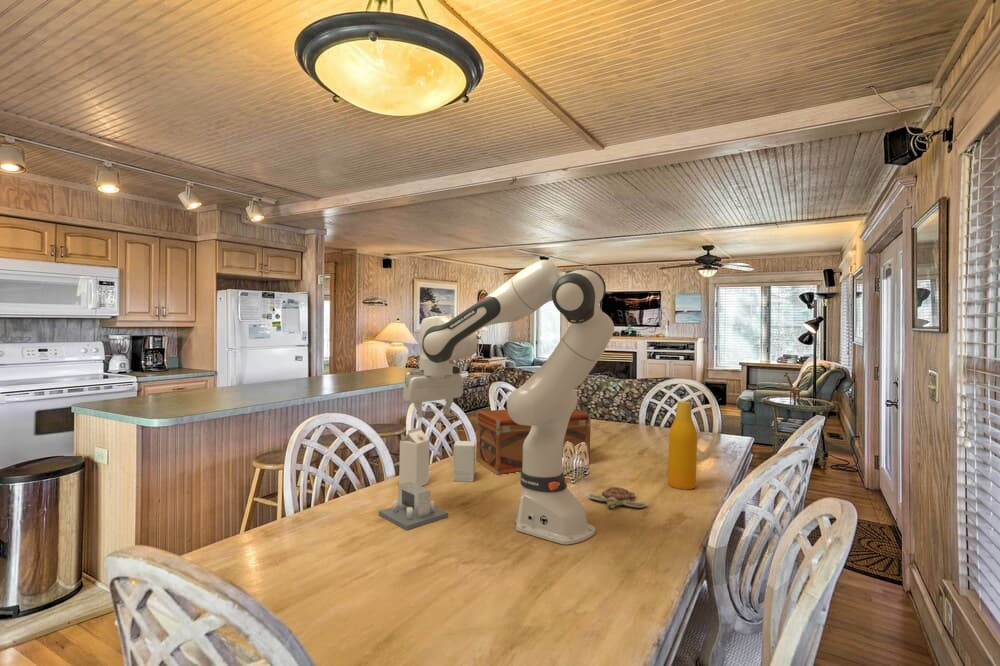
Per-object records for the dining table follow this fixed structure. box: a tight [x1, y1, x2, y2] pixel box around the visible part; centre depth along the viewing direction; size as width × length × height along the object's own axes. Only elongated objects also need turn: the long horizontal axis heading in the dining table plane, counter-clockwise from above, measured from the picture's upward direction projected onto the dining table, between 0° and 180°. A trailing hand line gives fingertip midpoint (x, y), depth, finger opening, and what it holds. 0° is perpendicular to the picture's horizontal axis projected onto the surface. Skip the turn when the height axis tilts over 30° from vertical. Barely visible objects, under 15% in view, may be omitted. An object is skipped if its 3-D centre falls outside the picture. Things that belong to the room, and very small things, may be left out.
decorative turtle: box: [587, 486, 647, 509], centre depth 160 cm, size 18×17×5 cm
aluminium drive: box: [397, 482, 431, 519], centre depth 146 cm, size 10×4×7 cm, turn 44°
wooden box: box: [475, 409, 592, 476], centre depth 202 cm, size 20×41×20 cm, turn 114°
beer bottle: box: [667, 400, 698, 490], centre depth 177 cm, size 9×9×29 cm
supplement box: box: [452, 440, 476, 483], centre depth 181 cm, size 7×7×13 cm
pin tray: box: [378, 499, 449, 531], centre depth 146 cm, size 14×14×4 cm
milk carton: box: [398, 426, 430, 487], centre depth 173 cm, size 7×7×19 cm
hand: (434, 415), depth 154 cm, fingers open, 8 cm apart
